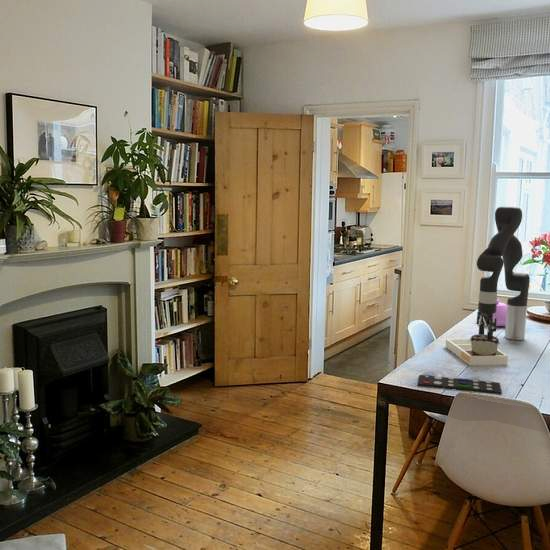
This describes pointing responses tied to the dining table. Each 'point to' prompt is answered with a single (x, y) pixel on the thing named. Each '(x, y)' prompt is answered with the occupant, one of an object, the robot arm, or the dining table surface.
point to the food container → (484, 345)
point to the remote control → (459, 384)
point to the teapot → (500, 314)
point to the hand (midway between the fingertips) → (485, 337)
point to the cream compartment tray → (465, 353)
